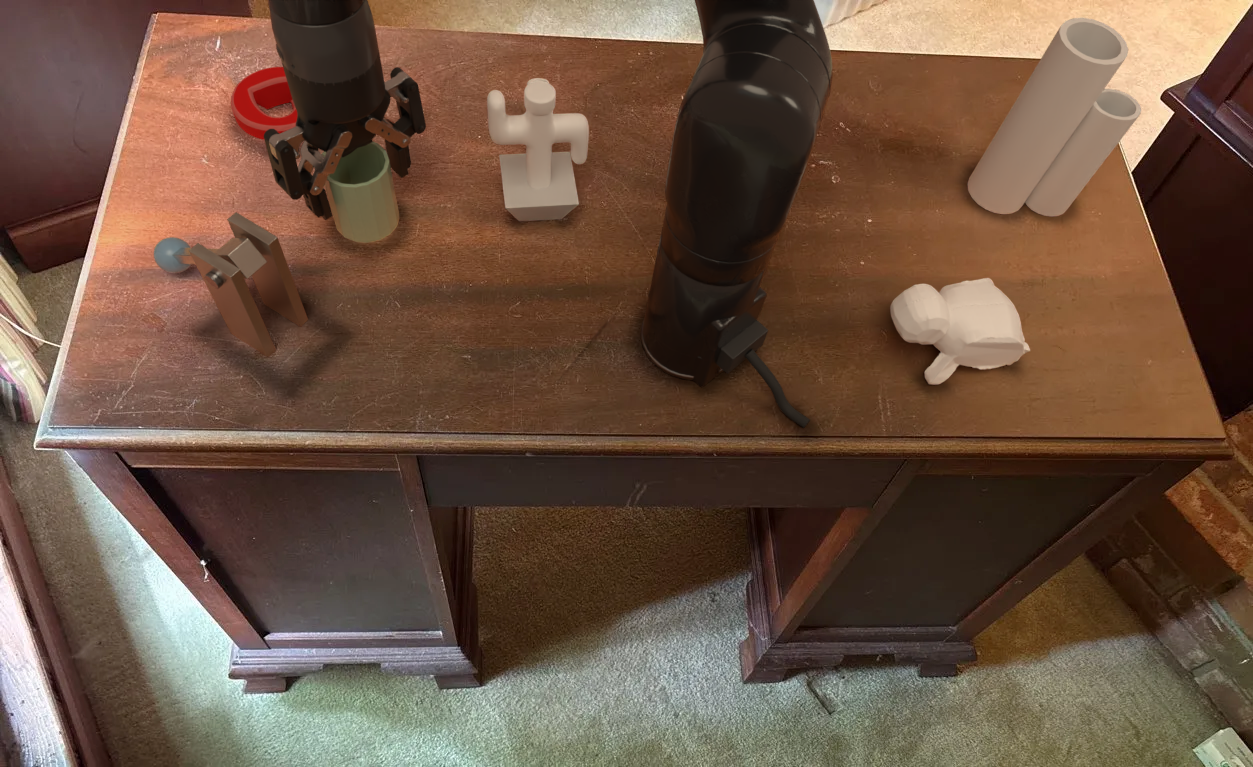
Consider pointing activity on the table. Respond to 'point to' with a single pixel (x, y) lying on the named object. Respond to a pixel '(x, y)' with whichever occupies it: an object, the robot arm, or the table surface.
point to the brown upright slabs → (236, 295)
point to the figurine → (538, 153)
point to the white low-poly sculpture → (960, 326)
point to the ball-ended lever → (236, 251)
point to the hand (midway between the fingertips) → (362, 192)
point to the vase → (1058, 124)
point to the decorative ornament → (262, 102)
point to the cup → (363, 195)
